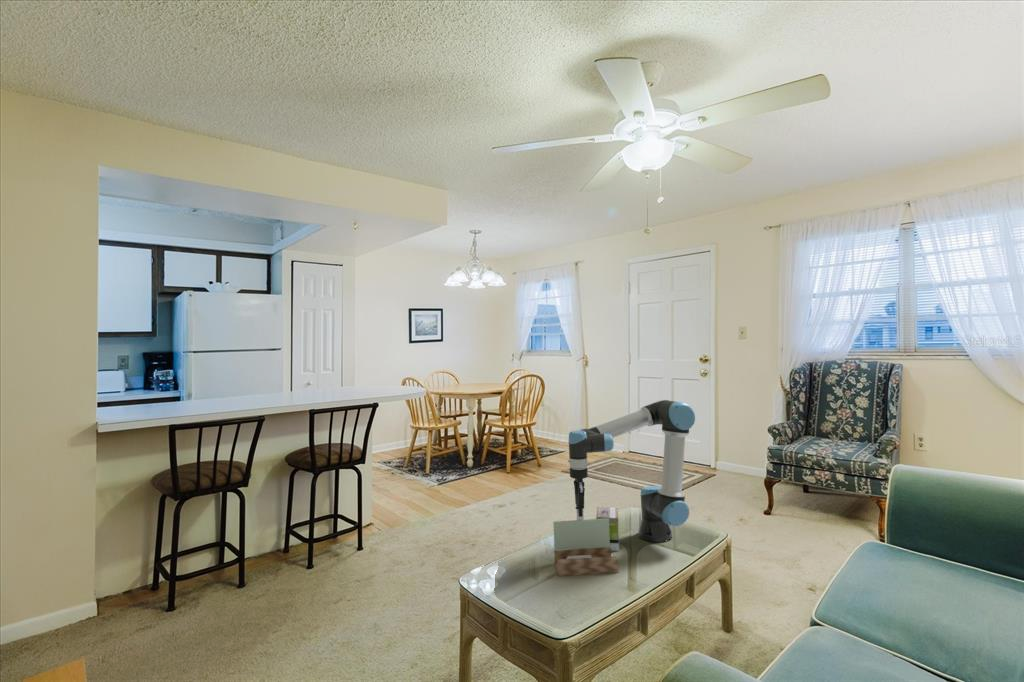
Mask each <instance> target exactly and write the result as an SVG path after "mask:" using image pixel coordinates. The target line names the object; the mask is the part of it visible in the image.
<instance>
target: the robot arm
mask: <svg viewBox="0 0 1024 682" xmlns="http://www.w3.org/2000/svg"><path fill="white" fill-rule="evenodd" d="M695 422H696V414H695V411H694V409H693V408H692V407H691V406H690V405H689V404H688V403H685V402H682V401H674V400H667V399H664V400H663V399H662V400H658V401H655V402H653V403H649V404H647V405H645V406H641V408H640V409H639V410H636V411H634V412H632V413H629V414H626V415H623V416H619V417H618V418H616V419H612V420H609V421H607V422H604V423H602V424H599V425H596V426H593V427H590V428H581V429H579V430H572V431H570V432H569V433H568V441H567V443H568V451H569V453H568V454H569V457H568V458H569V460H567V462H568V463H569V477H570V478H572V479H574V480H573V485H574V488H573V489H574V499H575V501H574V503H575V510H576V520H585V518H584V509H585V490H586V488H585V482H584V480H583V479H586V478H588V476H589V475H588V468H587V467H588V454H590V453H591V454H592V453H602V452H604V453H606V452H611V451H612V450H613V449H614V447H615V443H614V438H616V437H618V436H622V435H624V434H627V433H630V432H632V431H635V430H638V429H640V428H643V427H645V426H647V427H652V426H656V425H661V431H662V433H664V445H663V446H664V447H663V449H664V450H663V461H662V477H661V486H660V485H649V486H644V487H642V488H641V489H640V505H641V521H640V525H639V528H638V537H639V538H640V539H642V540H645V541H646V542H652V543H663V541H665V542H667V541H666V540H669V539H671V537H672V538H673V532H672V528H671V527H680V526H682V525H684V524H685V523H686V522H687V520H689V516H690V508H689V506H688V504H687V503H686V502H685V501H686V494H685V493H684V492H683V475H684V459H685V458H684V457H685V445H686V436H688V435H689V434H690V430H691V428H692V427H693V426H694V425H695ZM670 526H671V527H670ZM671 540H672V539H671ZM669 541H670V540H669Z"/></svg>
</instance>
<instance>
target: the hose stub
mask: <svg viewBox="0 0 1024 682" xmlns="http://www.w3.org/2000/svg"><path fill="white" fill-rule="evenodd" d="M577 558H592V557H591V556H590V555H579V556H568V557H567V558H566V559H577Z"/></svg>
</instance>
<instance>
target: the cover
mask: <svg viewBox="0 0 1024 682" xmlns="http://www.w3.org/2000/svg"><path fill="white" fill-rule="evenodd" d="M553 546H554V548H553V549H554V550H553V551H555V550H571V549H588V548H601V547H610V537H609V518H607V519H596V518H594V519H593V518H592V519H584V520H577V519H576V520H574V519H573V520H558V521H556V520H555V521H553Z"/></svg>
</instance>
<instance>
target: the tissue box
mask: <svg viewBox="0 0 1024 682" xmlns="http://www.w3.org/2000/svg"><path fill="white" fill-rule="evenodd" d="M553 552H554V554H553V555H554V565H555V568H556V572H557V575H558V576H559V577H565V576H566V577H567V576H569V577H570V576H582V575H583V576H584V575H585V576H586V575H597V574H598V575H599V574H613V573H614V574H615V573H619V559H618V557H617V556H616V555H613V556H612V551H611V548H610V547H605V548H584V549H567V550H553ZM579 555H590V556H591V557H592V558H577V559H566V558H567V557H568V556H579Z"/></svg>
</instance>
